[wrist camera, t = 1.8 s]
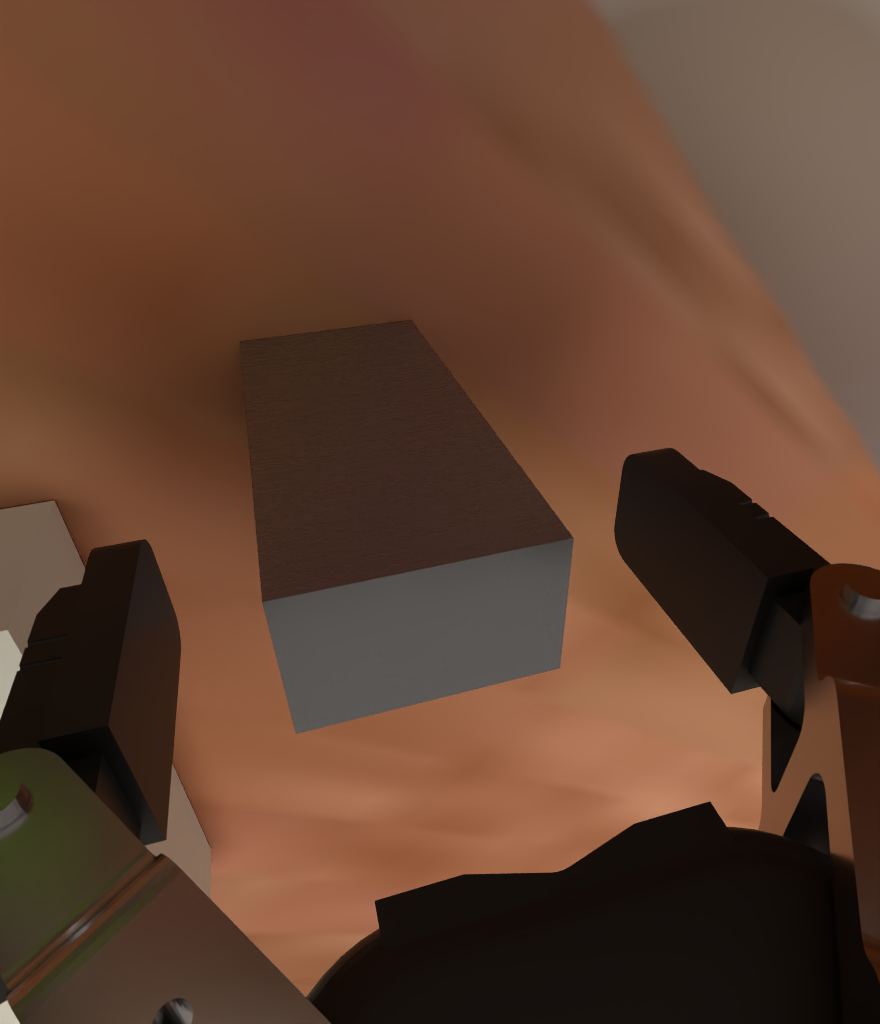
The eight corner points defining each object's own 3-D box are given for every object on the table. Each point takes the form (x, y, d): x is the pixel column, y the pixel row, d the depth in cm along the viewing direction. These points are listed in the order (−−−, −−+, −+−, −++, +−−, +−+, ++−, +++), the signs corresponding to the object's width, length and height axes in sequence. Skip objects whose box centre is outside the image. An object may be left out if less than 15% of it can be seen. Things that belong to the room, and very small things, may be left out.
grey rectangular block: (239, 341, 15) (262, 602, 8) (411, 320, 16) (573, 538, 9) (287, 563, 19) (332, 875, 12) (424, 536, 19) (545, 813, 12)
